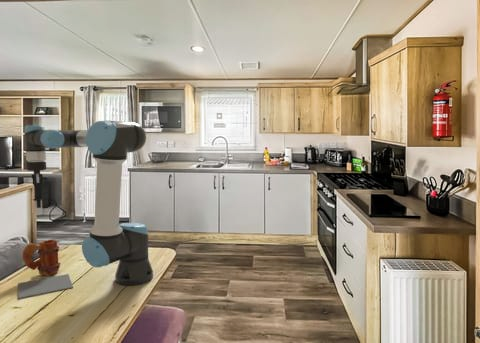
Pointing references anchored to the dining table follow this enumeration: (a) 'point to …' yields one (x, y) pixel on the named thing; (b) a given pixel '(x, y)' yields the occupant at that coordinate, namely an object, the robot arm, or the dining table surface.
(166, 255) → the dining table surface
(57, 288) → the mat
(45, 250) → the orange hollow piece
